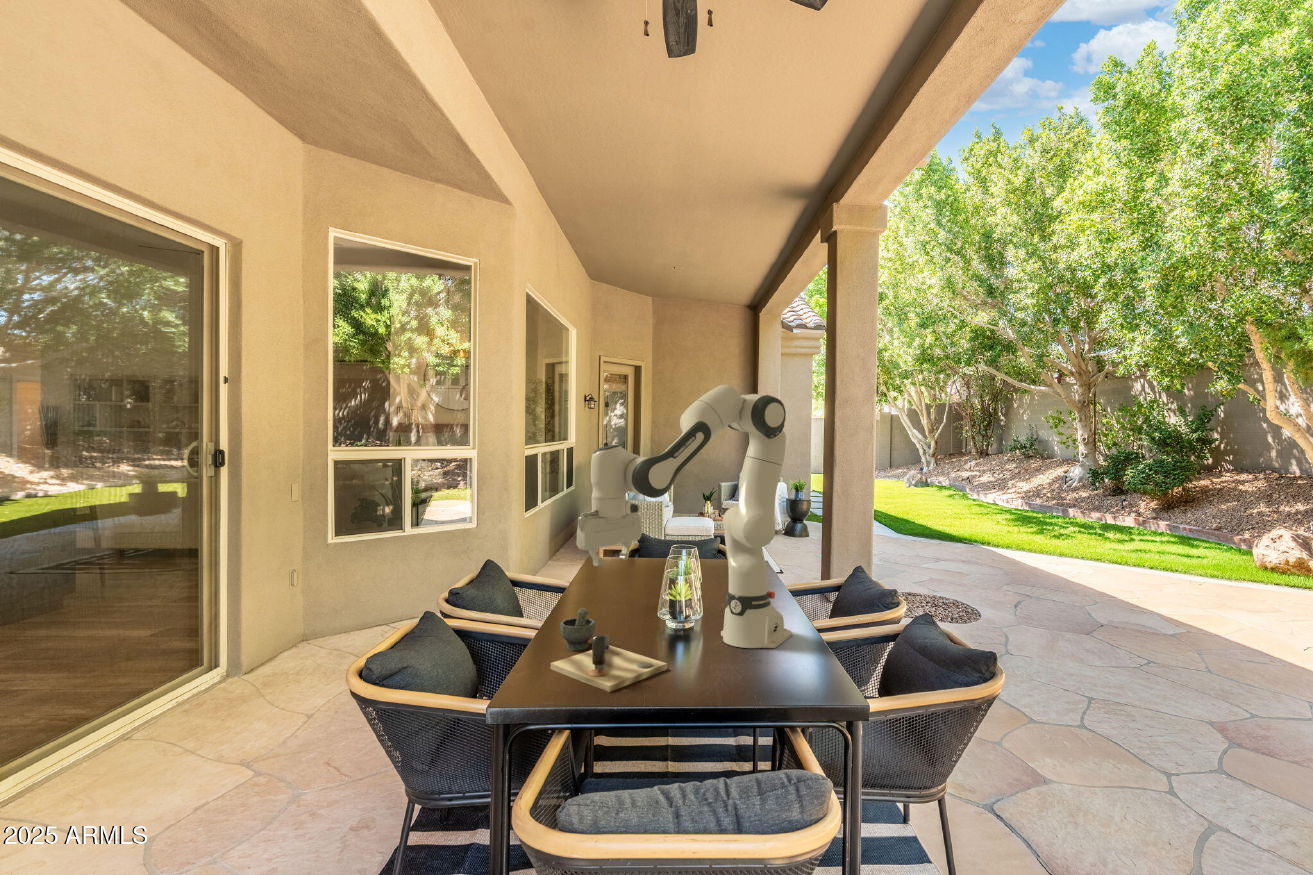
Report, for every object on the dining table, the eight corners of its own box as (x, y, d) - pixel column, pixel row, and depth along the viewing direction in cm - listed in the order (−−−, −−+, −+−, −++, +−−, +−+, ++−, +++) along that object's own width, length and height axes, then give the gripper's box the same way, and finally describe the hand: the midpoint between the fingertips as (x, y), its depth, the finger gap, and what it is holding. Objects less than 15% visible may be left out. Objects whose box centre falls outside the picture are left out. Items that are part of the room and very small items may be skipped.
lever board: (608, 650, 177) (608, 644, 177) (666, 669, 162) (666, 662, 162) (550, 669, 162) (550, 662, 162) (609, 692, 147) (609, 684, 147)
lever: (609, 645, 173) (609, 615, 173) (606, 671, 154) (606, 638, 154) (594, 645, 173) (594, 616, 173) (590, 671, 153) (590, 638, 153)
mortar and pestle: (556, 643, 182) (556, 602, 183) (587, 639, 186) (587, 598, 186) (568, 655, 172) (567, 611, 172) (600, 651, 176) (600, 607, 176)
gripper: (586, 513, 153) (588, 571, 153) (644, 505, 169) (646, 557, 169) (569, 512, 158) (571, 568, 158) (627, 504, 173) (629, 554, 173)
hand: (611, 562), depth 163 cm, fingers open, 8 cm apart
